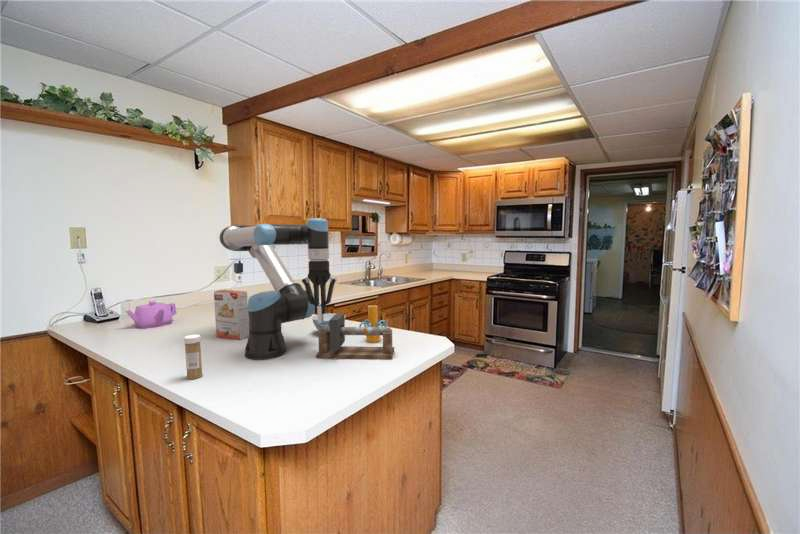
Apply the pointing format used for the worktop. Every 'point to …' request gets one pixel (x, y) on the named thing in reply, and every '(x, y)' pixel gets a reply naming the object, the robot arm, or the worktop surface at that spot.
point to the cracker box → (231, 314)
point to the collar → (336, 331)
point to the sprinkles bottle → (193, 356)
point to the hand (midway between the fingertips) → (320, 322)
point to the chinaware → (326, 320)
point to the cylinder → (373, 323)
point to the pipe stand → (355, 351)
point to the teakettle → (153, 314)
